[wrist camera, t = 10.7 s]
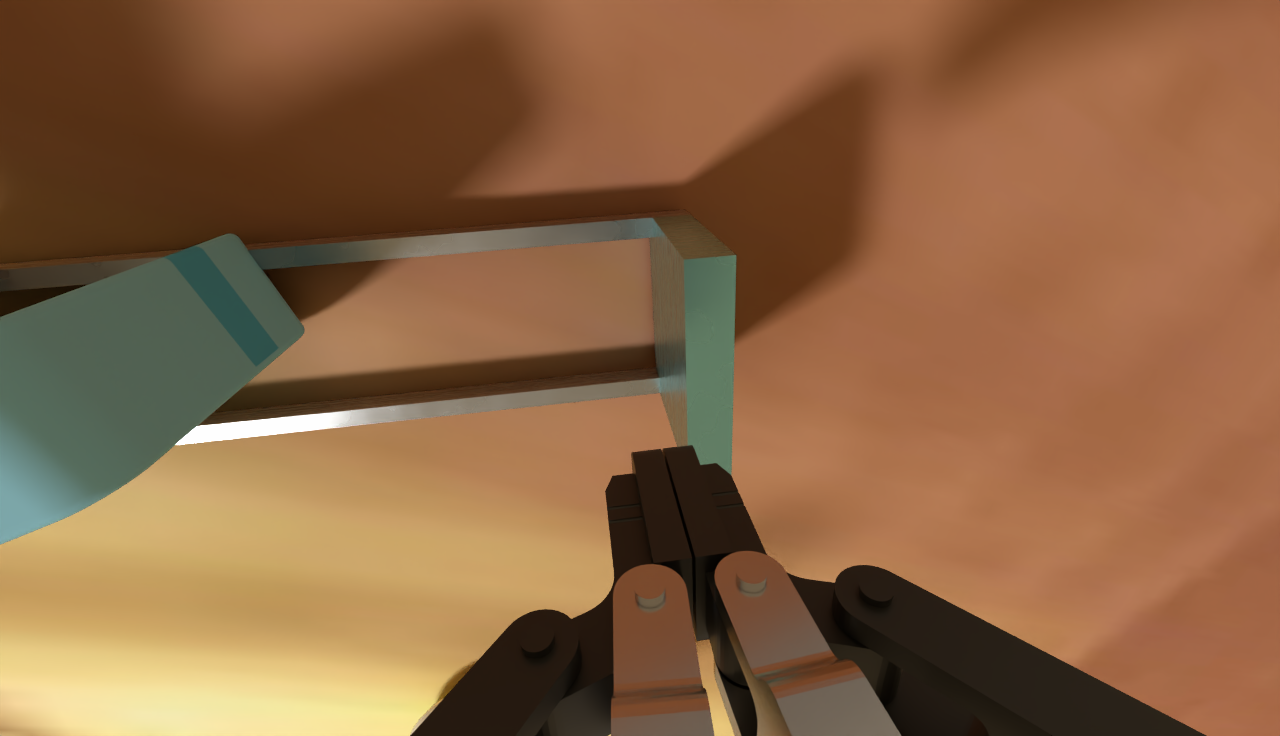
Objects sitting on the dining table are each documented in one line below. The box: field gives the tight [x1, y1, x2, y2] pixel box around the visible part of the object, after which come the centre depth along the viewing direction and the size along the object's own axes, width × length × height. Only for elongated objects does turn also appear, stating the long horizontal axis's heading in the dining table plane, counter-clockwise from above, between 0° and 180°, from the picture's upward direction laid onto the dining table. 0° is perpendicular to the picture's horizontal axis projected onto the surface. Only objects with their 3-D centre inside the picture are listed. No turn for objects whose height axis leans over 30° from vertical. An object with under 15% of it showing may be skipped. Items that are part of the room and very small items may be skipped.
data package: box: [0, 234, 304, 544], centre depth 17 cm, size 12×4×12 cm, turn 111°
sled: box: [0, 210, 736, 475], centre depth 20 cm, size 8×30×8 cm, turn 93°
